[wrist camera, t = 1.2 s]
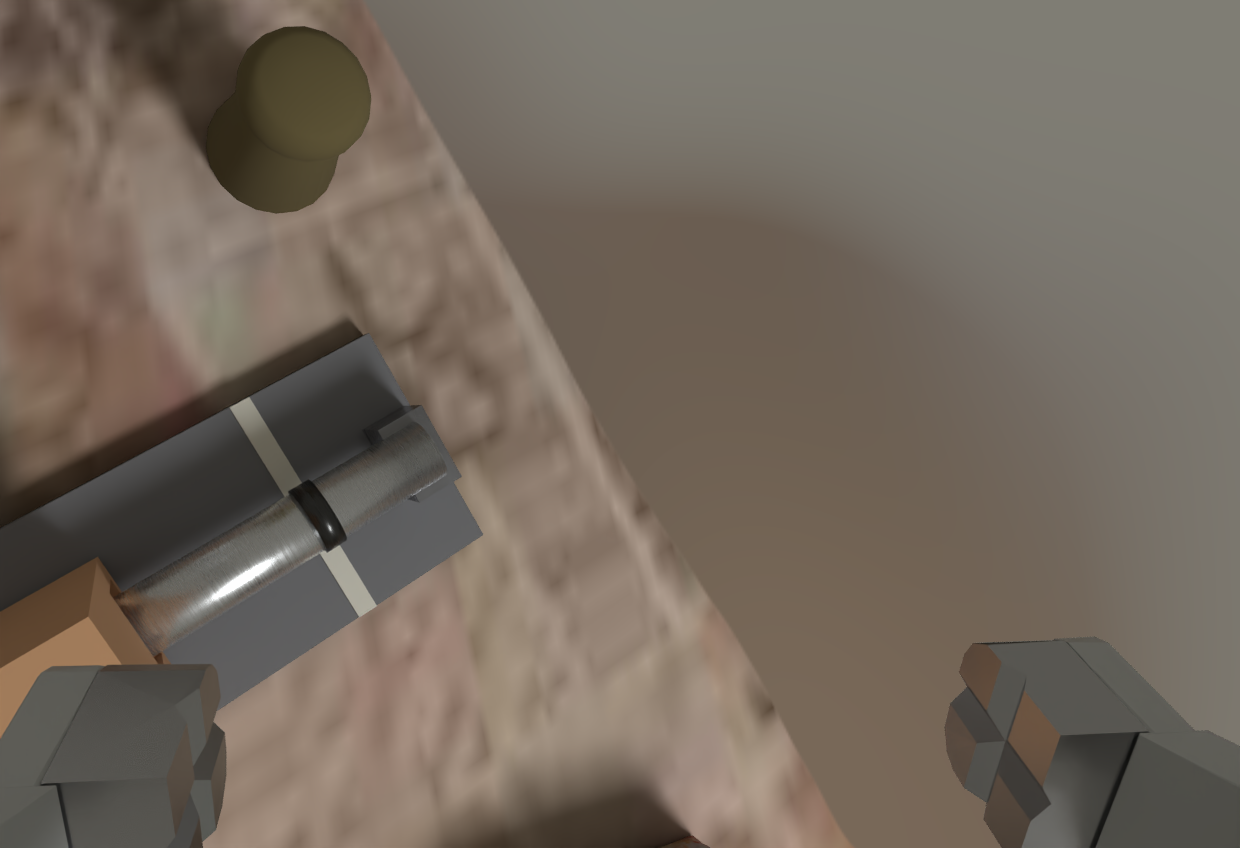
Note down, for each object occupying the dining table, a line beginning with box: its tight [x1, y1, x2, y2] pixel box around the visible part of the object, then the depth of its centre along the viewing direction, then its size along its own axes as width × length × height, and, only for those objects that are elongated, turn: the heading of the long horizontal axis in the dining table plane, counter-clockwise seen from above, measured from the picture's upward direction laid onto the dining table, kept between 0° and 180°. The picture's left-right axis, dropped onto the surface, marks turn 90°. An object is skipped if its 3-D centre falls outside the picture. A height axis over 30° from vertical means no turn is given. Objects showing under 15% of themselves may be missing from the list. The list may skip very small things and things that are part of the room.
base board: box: [0, 333, 483, 711], centre depth 45 cm, size 24×12×1 cm, turn 120°
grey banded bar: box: [113, 405, 462, 657], centre depth 43 cm, size 23×4×5 cm, turn 120°
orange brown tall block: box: [0, 557, 171, 738], centre depth 36 cm, size 5×6×14 cm
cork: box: [206, 26, 371, 213], centre depth 42 cm, size 6×6×11 cm
